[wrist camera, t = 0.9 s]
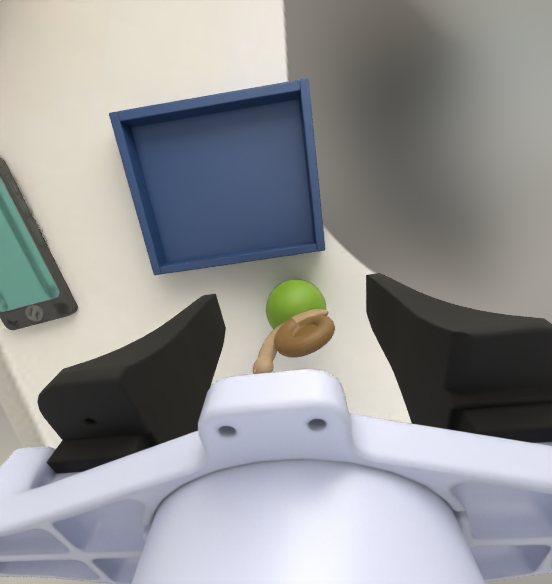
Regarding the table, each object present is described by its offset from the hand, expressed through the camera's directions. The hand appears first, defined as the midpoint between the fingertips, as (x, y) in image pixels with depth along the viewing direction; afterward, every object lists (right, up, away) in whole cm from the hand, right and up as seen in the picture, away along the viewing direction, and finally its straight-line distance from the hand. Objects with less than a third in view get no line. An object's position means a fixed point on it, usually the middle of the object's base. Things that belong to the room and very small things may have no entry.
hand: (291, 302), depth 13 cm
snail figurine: (+1, 0, +15) cm, 15 cm away
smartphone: (-26, +5, +13) cm, 30 cm away
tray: (-5, +10, +12) cm, 16 cm away
